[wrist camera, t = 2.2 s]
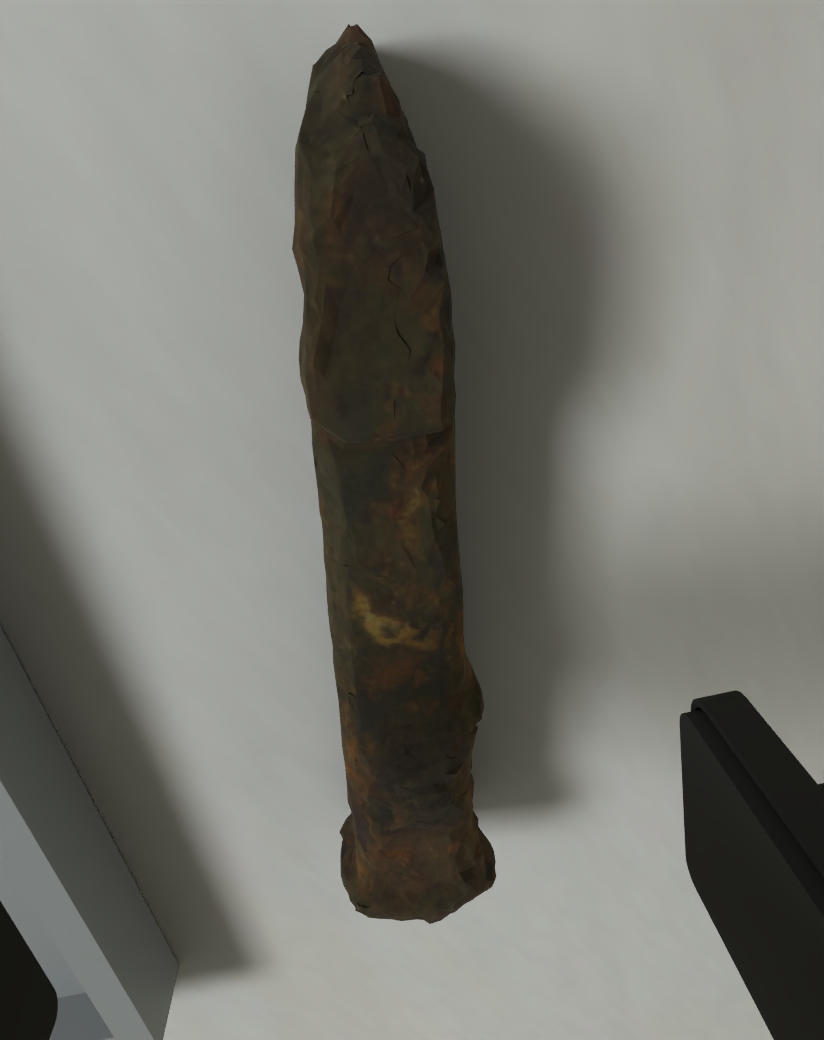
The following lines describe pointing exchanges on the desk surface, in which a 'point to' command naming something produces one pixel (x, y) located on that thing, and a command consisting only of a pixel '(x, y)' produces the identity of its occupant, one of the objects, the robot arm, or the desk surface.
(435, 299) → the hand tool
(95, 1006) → the tray
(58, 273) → the desk surface
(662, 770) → the desk surface
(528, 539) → the desk surface
